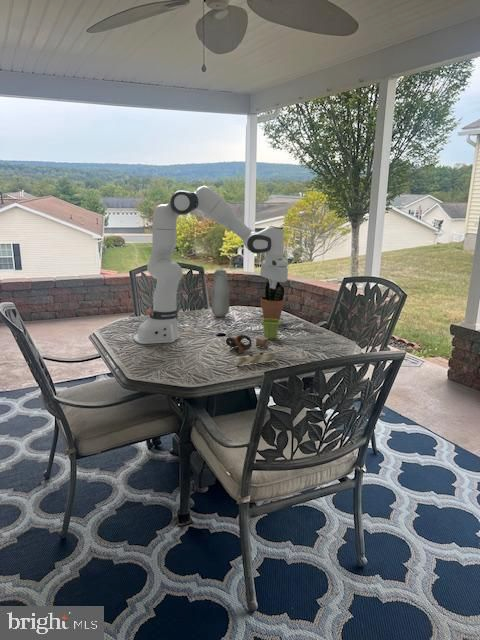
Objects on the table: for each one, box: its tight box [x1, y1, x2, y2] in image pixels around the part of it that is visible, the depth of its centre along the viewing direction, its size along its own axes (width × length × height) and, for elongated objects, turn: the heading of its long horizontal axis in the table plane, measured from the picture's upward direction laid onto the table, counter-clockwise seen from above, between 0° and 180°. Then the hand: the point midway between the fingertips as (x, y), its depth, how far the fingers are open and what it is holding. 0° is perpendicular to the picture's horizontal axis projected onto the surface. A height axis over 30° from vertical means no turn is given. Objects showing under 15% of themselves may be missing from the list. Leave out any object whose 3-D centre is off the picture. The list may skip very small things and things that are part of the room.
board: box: [235, 351, 276, 365], centre depth 192 cm, size 18×2×5 cm, turn 116°
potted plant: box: [260, 279, 285, 321], centre depth 258 cm, size 14×14×25 cm
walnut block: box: [255, 336, 269, 348], centre depth 215 cm, size 4×4×4 cm
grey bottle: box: [210, 268, 230, 318], centre depth 264 cm, size 10×10×28 cm
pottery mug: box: [225, 334, 252, 353], centre depth 208 cm, size 12×10×8 cm
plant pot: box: [261, 318, 281, 340], centre depth 229 cm, size 9×9×9 cm
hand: (272, 288), depth 223 cm, fingers closed
